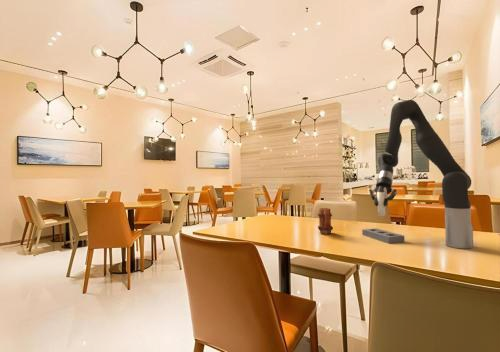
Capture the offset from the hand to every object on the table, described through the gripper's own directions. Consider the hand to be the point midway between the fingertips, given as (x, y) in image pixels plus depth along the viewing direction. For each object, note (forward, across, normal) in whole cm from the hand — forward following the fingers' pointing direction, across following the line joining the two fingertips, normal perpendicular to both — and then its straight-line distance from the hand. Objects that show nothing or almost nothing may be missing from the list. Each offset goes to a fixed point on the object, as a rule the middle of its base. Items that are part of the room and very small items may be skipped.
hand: (380, 205), depth 138 cm
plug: (+2, 0, +5) cm, 6 cm away
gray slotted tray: (+11, 0, +14) cm, 17 cm away
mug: (+15, -28, +10) cm, 33 cm away
